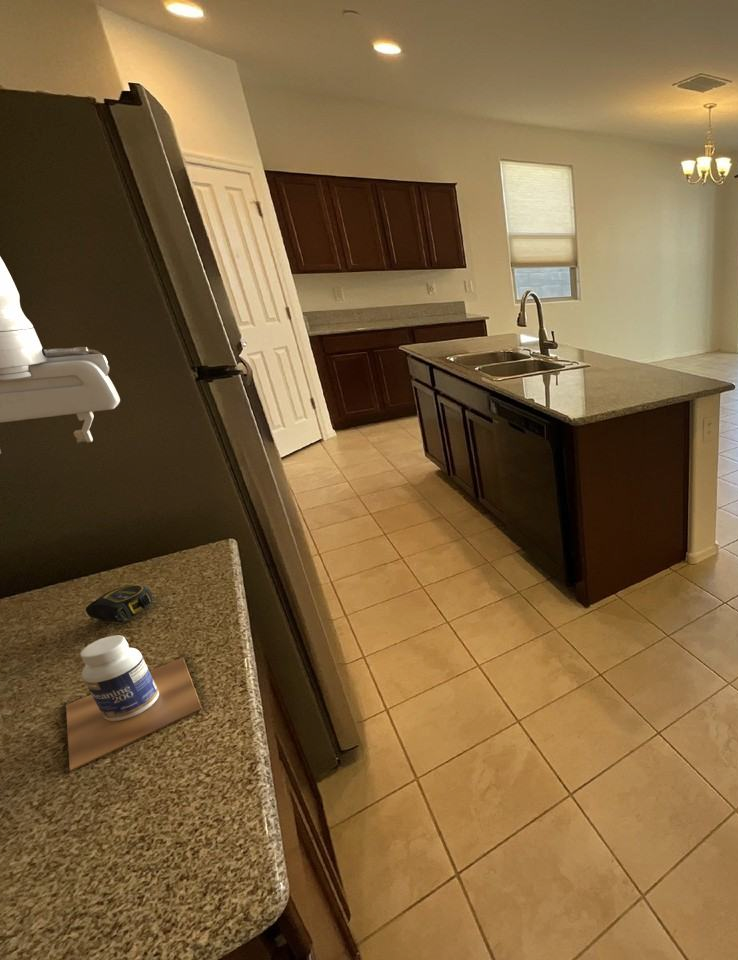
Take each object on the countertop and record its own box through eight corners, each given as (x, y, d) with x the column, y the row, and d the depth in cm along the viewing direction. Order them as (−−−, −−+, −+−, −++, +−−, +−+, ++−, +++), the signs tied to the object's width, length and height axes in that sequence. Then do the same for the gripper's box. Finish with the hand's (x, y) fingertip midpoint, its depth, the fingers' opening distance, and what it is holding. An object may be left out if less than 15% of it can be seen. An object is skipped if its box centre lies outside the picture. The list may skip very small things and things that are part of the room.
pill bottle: (93, 726, 64) (58, 664, 61) (122, 694, 69) (91, 635, 65) (144, 718, 65) (113, 656, 62) (169, 687, 70) (142, 628, 67)
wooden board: (66, 706, 68) (65, 704, 68) (183, 658, 76) (183, 657, 76) (70, 771, 59) (69, 769, 59) (202, 709, 67) (201, 708, 67)
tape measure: (89, 623, 84) (79, 604, 82) (136, 598, 90) (127, 580, 88) (121, 629, 82) (111, 609, 81) (166, 603, 88) (158, 585, 87)
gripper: (103, 343, 79) (137, 430, 84) (-114, 357, 67) (-59, 457, 73) (98, 347, 75) (134, 439, 80) (-136, 363, 63) (-75, 470, 68)
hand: (41, 448), depth 76 cm, fingers open, 8 cm apart
